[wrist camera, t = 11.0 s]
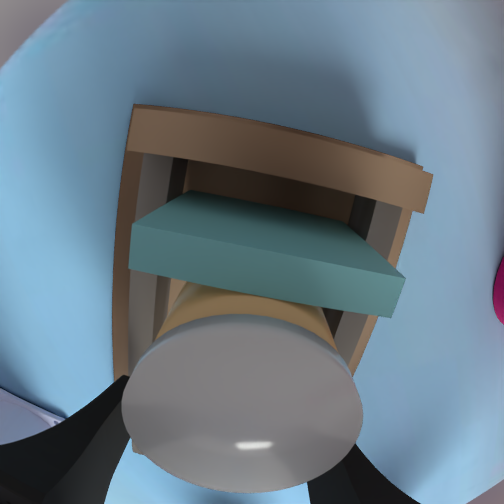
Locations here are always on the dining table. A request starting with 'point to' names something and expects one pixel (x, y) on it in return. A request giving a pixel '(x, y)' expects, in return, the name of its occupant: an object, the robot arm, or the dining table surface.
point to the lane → (255, 190)
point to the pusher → (264, 253)
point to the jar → (242, 393)
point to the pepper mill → (499, 293)
